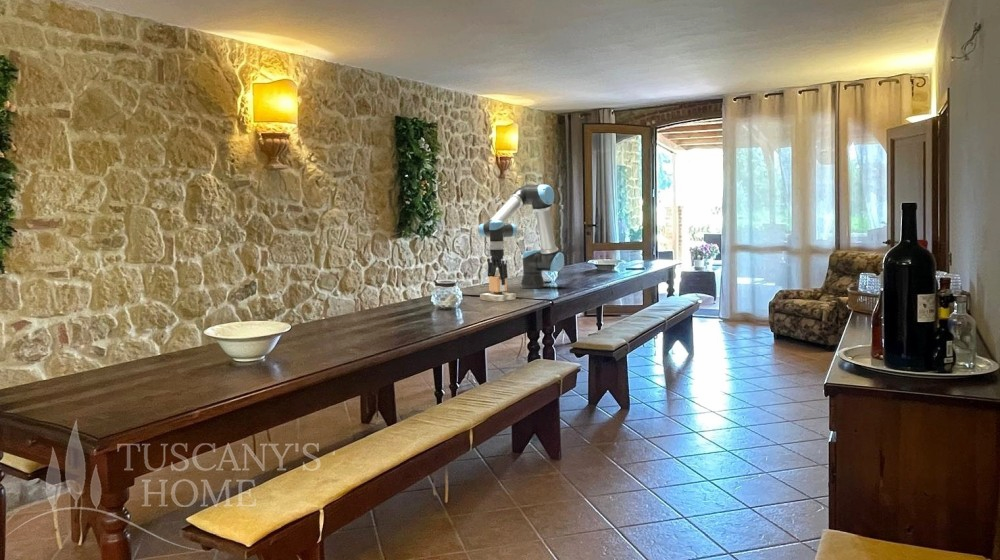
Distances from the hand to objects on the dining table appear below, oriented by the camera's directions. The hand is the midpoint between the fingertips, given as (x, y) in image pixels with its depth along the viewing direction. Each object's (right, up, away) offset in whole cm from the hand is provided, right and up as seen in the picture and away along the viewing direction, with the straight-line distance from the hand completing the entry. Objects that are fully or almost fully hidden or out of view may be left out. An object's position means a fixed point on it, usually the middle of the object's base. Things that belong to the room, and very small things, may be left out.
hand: (497, 290), depth 386 cm
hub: (0, -5, +1) cm, 5 cm away
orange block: (0, 0, 0) cm, 0 cm away
